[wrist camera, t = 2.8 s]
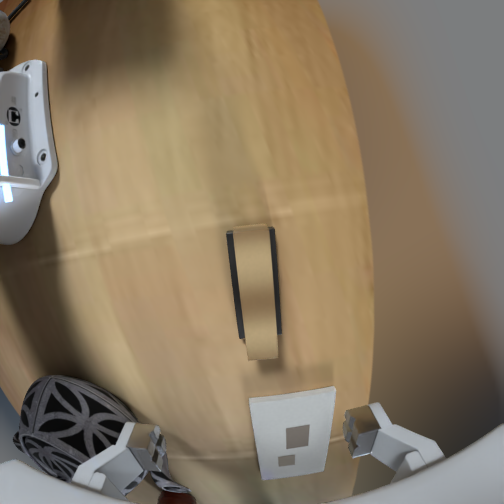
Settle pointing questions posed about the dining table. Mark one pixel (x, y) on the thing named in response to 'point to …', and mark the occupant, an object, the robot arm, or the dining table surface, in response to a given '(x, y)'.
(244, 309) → the brush
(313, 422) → the tile
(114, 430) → the teapot
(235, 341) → the dining table surface
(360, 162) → the dining table surface
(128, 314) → the dining table surface
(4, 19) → the decorative object
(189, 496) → the mug
